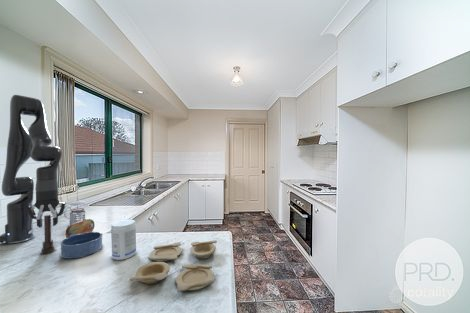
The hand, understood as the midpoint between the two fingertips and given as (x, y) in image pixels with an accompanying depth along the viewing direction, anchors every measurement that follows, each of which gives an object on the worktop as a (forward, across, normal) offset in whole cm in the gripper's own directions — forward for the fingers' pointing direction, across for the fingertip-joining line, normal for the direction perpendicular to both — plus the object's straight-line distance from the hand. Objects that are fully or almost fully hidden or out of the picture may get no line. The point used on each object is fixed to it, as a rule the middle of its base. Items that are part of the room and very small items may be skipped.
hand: (47, 225), depth 93 cm
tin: (+12, -10, -14) cm, 21 cm away
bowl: (+12, -14, +7) cm, 20 cm away
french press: (+12, -4, -38) cm, 40 cm away
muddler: (+12, 0, 0) cm, 12 cm away
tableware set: (+12, -51, +42) cm, 67 cm away
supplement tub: (+12, -31, +21) cm, 39 cm away
